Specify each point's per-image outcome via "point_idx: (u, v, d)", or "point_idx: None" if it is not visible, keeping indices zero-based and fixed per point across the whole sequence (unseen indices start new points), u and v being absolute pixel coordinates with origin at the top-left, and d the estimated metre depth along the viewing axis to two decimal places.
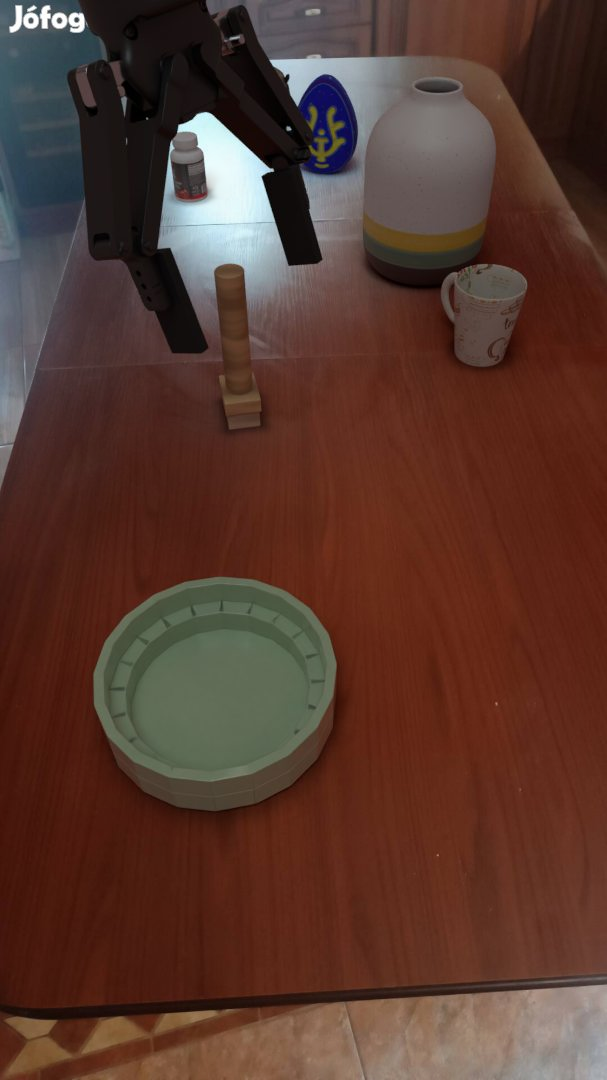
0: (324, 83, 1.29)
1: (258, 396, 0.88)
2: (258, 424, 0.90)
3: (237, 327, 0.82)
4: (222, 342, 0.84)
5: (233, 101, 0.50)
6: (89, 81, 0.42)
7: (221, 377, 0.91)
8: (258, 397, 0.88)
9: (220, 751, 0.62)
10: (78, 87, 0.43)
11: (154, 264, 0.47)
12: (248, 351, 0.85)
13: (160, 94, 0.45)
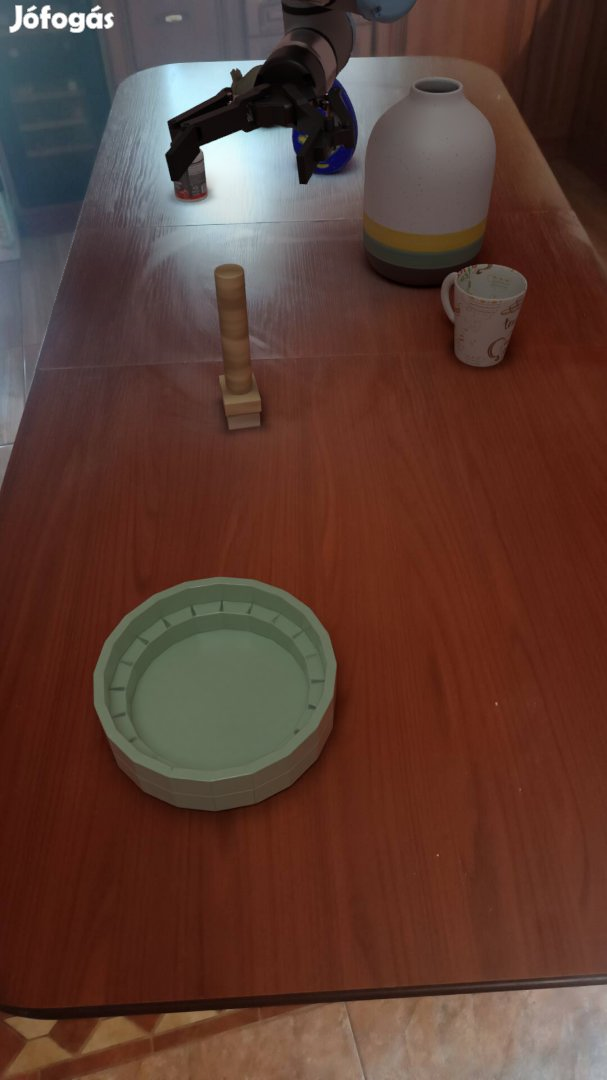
0: None
1: (258, 396, 0.88)
2: (258, 424, 0.90)
3: (237, 327, 0.82)
4: (222, 342, 0.84)
5: (247, 128, 0.87)
6: None
7: (221, 377, 0.91)
8: (258, 397, 0.88)
9: (220, 751, 0.62)
10: (341, 96, 0.85)
11: None
12: (248, 351, 0.85)
13: None
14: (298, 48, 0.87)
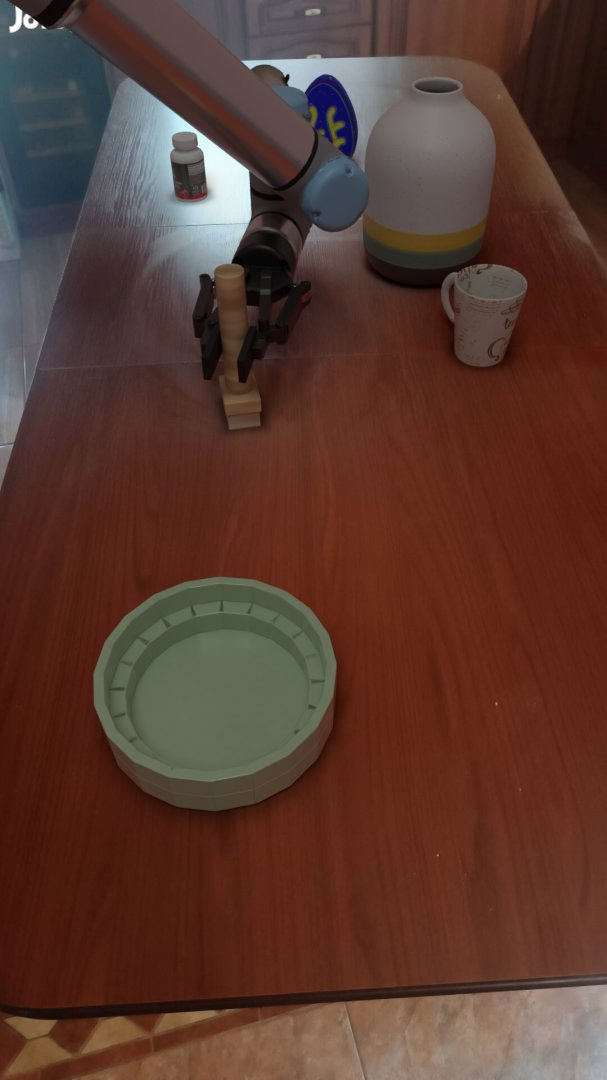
0: (324, 83, 1.29)
1: (258, 396, 0.88)
2: (258, 424, 0.90)
3: (237, 327, 0.82)
4: (222, 342, 0.84)
5: None
6: (309, 299, 0.92)
7: (221, 377, 0.91)
8: (258, 397, 0.88)
9: (220, 751, 0.62)
10: (308, 291, 0.91)
11: None
12: None
13: (272, 304, 0.92)
14: (273, 235, 0.94)
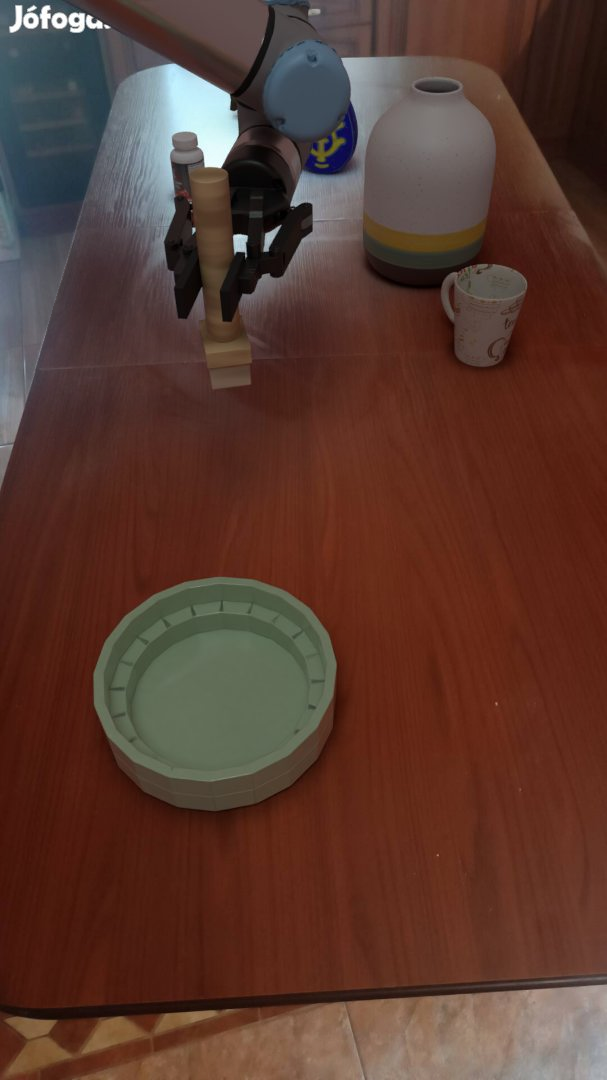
0: None
1: (248, 344, 0.71)
2: (248, 380, 0.73)
3: (219, 251, 0.65)
4: (201, 272, 0.67)
5: None
6: (310, 226, 0.74)
7: (201, 323, 0.73)
8: (248, 345, 0.70)
9: (220, 751, 0.62)
10: (309, 215, 0.73)
11: None
12: None
13: (264, 232, 0.75)
14: (265, 149, 0.76)
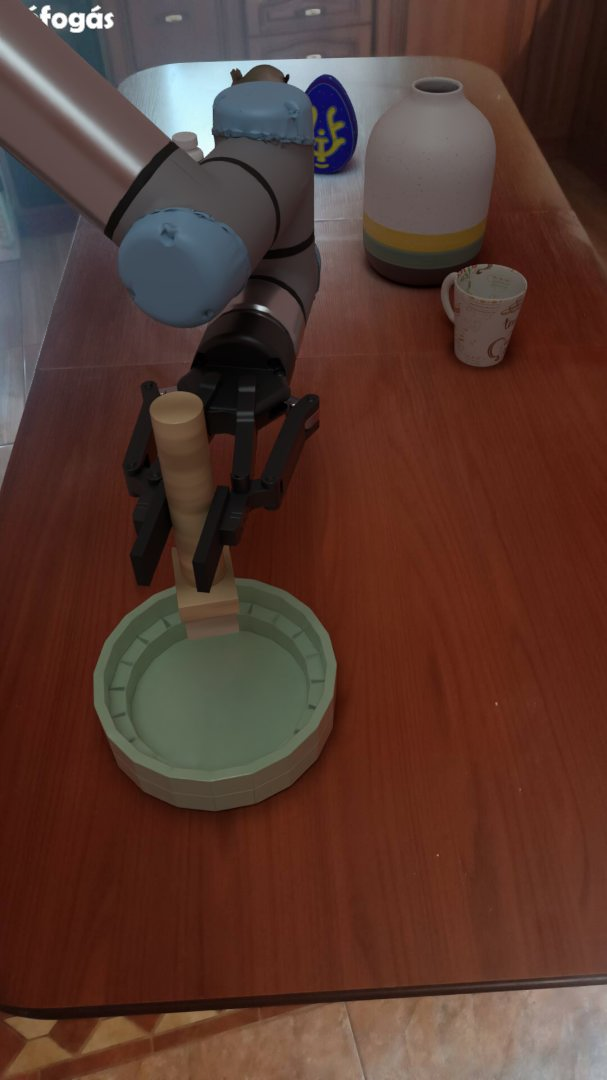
0: (324, 83, 1.29)
1: (234, 590, 0.54)
2: (235, 628, 0.56)
3: (194, 495, 0.48)
4: (171, 514, 0.50)
5: None
6: (316, 422, 0.57)
7: (174, 552, 0.56)
8: (234, 593, 0.54)
9: (220, 751, 0.62)
10: (315, 412, 0.57)
11: None
12: None
13: None
14: (258, 317, 0.59)
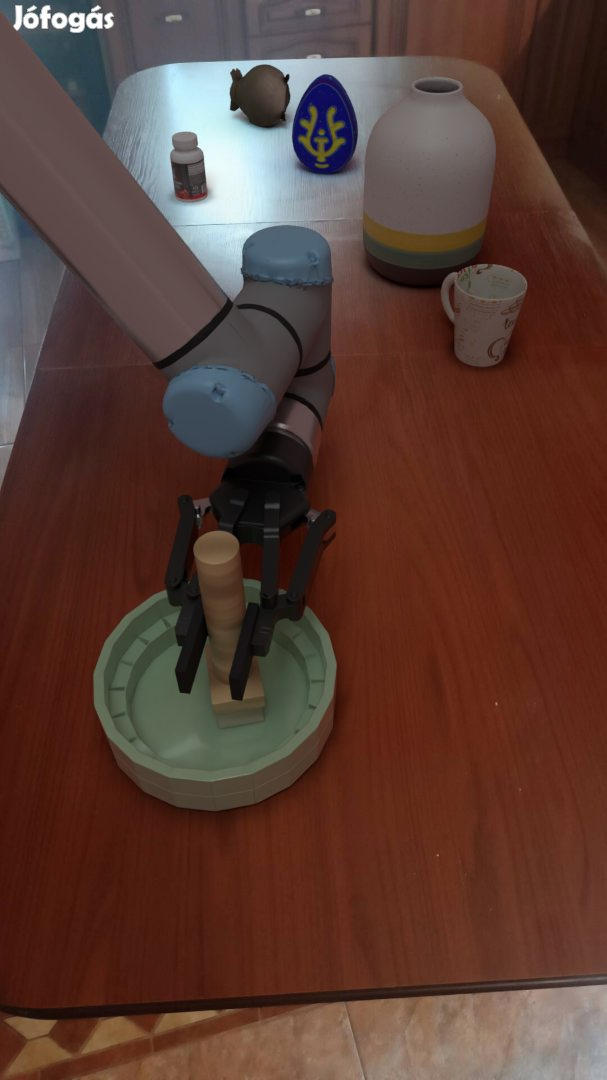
0: (324, 83, 1.29)
1: (261, 688, 0.61)
2: (261, 718, 0.63)
3: (229, 616, 0.55)
4: (207, 628, 0.57)
5: None
6: (333, 534, 0.65)
7: (207, 650, 0.64)
8: (261, 690, 0.61)
9: (220, 751, 0.62)
10: (332, 526, 0.64)
11: None
12: None
13: None
14: (281, 436, 0.67)
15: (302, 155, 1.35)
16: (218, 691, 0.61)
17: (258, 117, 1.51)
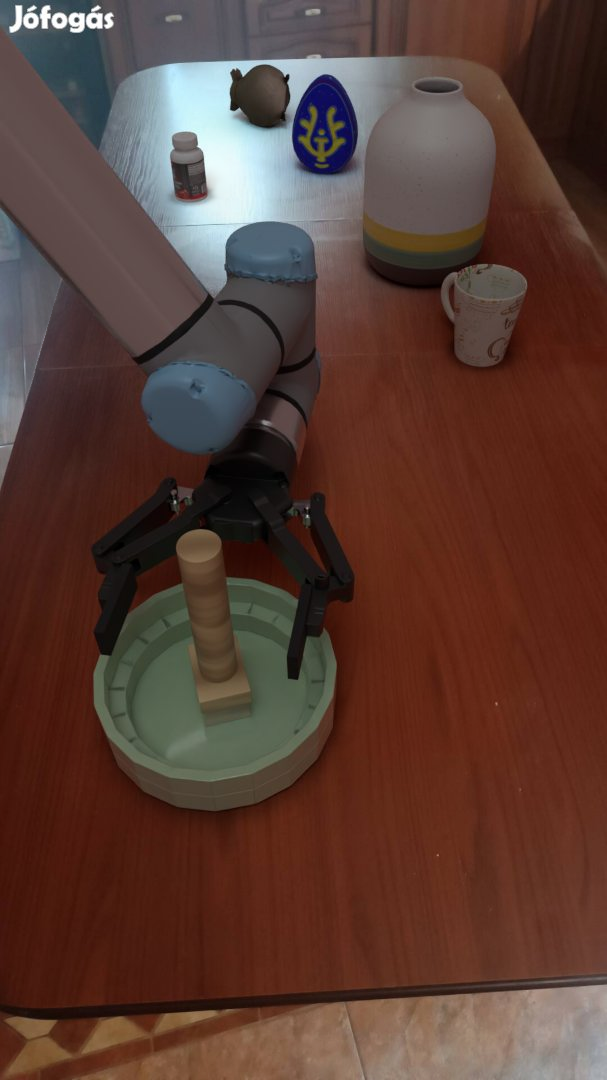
0: (324, 83, 1.29)
1: (247, 684, 0.62)
2: (247, 714, 0.64)
3: (213, 613, 0.56)
4: (192, 627, 0.58)
5: None
6: None
7: (191, 649, 0.64)
8: (247, 686, 0.61)
9: (220, 751, 0.62)
10: None
11: None
12: (230, 633, 0.59)
13: None
14: (264, 433, 0.67)
15: (302, 155, 1.35)
16: (204, 689, 0.61)
17: (258, 117, 1.51)
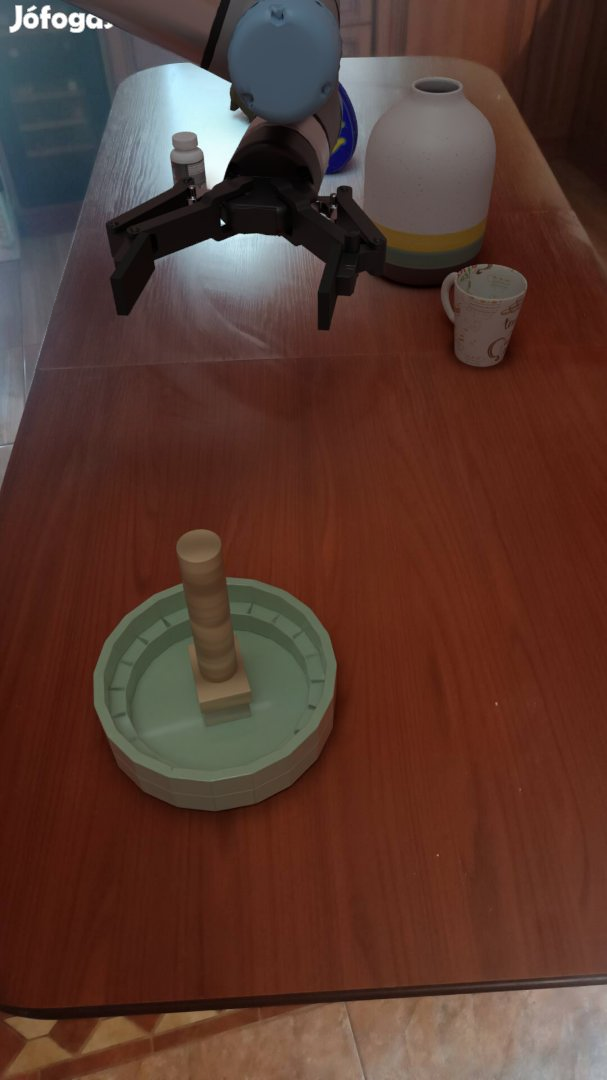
0: None
1: (247, 684, 0.62)
2: (247, 714, 0.64)
3: (213, 613, 0.56)
4: (192, 627, 0.58)
5: (218, 236, 0.61)
6: None
7: (191, 649, 0.64)
8: (247, 686, 0.61)
9: (220, 751, 0.62)
10: None
11: None
12: (230, 633, 0.59)
13: None
14: (287, 130, 0.63)
15: None
16: (204, 689, 0.61)
17: None
